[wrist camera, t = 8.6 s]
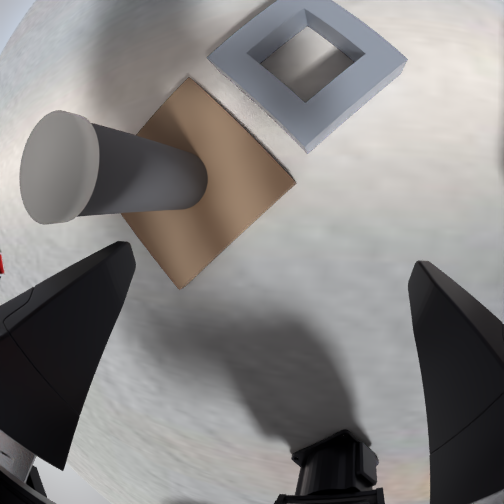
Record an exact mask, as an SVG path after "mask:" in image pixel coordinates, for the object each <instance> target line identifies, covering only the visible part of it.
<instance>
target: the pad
mask: <svg viewBox="0 0 504 504" xmlns="http://www.w3.org/2000/svg"><path fill="white" fill-rule="evenodd" d="M136 136H139V137H143V138H146V139H149V140H152V141H156V142H159V143H162V144H165V145H168V146H171V147H174V148H177V149H180V150H183V151H186V152H189V153H192V154H194V155H196V156H197V157H199V158H200V159H201V160H202V162H203V163H204V165H205V167H206V170H207V175H208V183H207V188H206V191H205V193H204V195H203V197H202V198H201V199H200V201H199V202H198V203H197V204H195V205H194V206H192V207H190V208H187V209H183V210H163V211H145V212H129V213H121V215H122V216H123V217H124V219H125V220H126V222H127V223H128V224H129V226H130V227H131V228H132V230H133V231H134V233H135V234H136V235H137V237H138V238H139V239H140V241H141V242H142V243H143V245H144V246H145V247H146V249H147V250H148V251H149V252H150V254H151V255H152V256H153V258H154V259H155V260H156V261H157V263H158V264H159V265H160V267H161V268H162V269H163V270H164V272H165V273H166V274H167V275H168V277H169V278H170V279H171V280H172V282H173V283H174V284H175V285H176V287H177V288H178V289H179V290H180V289H182V288H184V287H185V286H186V285H187V284H188V283H189V282H190V281H191V280H193V279H194V278H195V277H196V276H197V275H198V274H199V273H200V272H201V271H202V270H203V269H204V268H205V267H206V266H207V265H208V264H209V263H211V262H212V261H213V260H214V259H215V258H216V257H217V256H218V255H219V254H220V253H221V252H222V251H223V250H224V249H225V248H227V247H228V246H229V245H230V244H231V243H232V242H233V241H234V240H235V239H236V238H237V237H238V236H239V235H240V234H242V233H243V232H244V231H245V230H246V229H247V228H248V227H249V226H250V225H251V224H252V223H253V222H255V221H256V220H257V219H258V218H259V217H260V216H261V215H262V214H263V213H264V212H265V211H266V210H268V209H269V208H270V207H271V206H272V205H273V204H274V203H275V202H276V201H277V200H278V199H280V198H281V197H282V196H283V195H284V194H285V193H286V192H287V191H288V190H289V189H291V188H292V187H293V186H294V185H295V184H296V182H295V181H294V180H293V179H292V177H291V176H290V175H289V174H288V173H287V172H286V171H285V170H284V169H283V168H282V167H281V166H280V165H279V164H278V162H277V161H276V160H275V159H274V158H273V157H272V156H271V155H270V154H269V153H268V152H267V151H266V150H265V149H264V148H263V147H262V146H261V145H260V144H259V143H258V142H257V141H256V140H255V139H254V138H253V137H252V136H251V135H250V134H249V133H248V132H247V131H246V130H245V129H244V128H243V127H242V126H241V125H240V124H239V123H238V122H237V121H236V120H235V119H234V118H233V117H232V116H231V115H230V114H229V113H228V112H227V111H226V110H225V109H224V108H223V107H222V106H220V105H219V104H218V103H217V102H216V101H215V100H214V99H213V98H212V97H211V96H210V95H209V94H208V93H206V92H205V91H204V90H203V89H202V88H201V87H200V86H199V85H198V84H197V83H195V82H194V81H193V80H192V79H191V78H189V77H188V78H187V79H186V80H185V82H184V83H183V84H182V85H181V86H180V87H179V88H178V89H177V90H176V91H175V92H174V93H173V94H172V95H171V96H170V97H169V98H168V99H167V100H166V101H165V103H164V104H163V105H162V106H161V107H160V108H159V109H158V110H157V111H156V113H155V114H154V115H153V116H152V117H151V118H150V119H149V121H148V122H147V123H146V124H145V125H144V126H143V128H142V129H141V130H140V131H139V132H138V134H137V135H136Z"/></svg>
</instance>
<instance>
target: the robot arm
mask: <svg viewBox="0 0 504 504" xmlns="http://www.w3.org/2000/svg"><path fill="white" fill-rule="evenodd" d="M135 268H136V262H135V258H134V255H133V251H132V248H131V245H130V243H129V242H124V241H117V242H115V243H113V244H111V245H109V246H107V247H105V248H103V249H101V250H99V251H98V252H96V253H94V254H92V255H90V256H88V257H86V258H84V259H82V260H80V261H79V262H77V263H75V264H73V265H71V266H69V267H68V268H66V269H64V270H62V271H60V272H59V273H57V274H55V275H53V276H51V277H50V278H48V279H46V280H44V281H43V282H41V283H39V284H37V285H36V286H35V287H32V288H30V289H29V290H27V291H25V292H24V293H22V294H20V295H18V296H17V297H15V298H13V299H11V300H10V301H8V302H6V303H4V304H2V305H1V306H0V504H56V503H54V502H53V501H51V500H49V499H48V498H47V496H46V493H45V490H44V488H43V485H42V482H41V479H40V476H39V473H38V470H37V468H36V467H34V466H33V463H34V461H35V458H36V456H38V457H39V458H41V459H43V460H44V461H46V462H48V463H49V464H51V465H53V466H55V467H56V468H58V469H60V470H62V471H63V470H64V467H65V464H66V460H67V457H68V453H69V450H70V446H71V443H72V440H73V436H74V433H75V430H76V427H77V424H78V420H79V417H80V416H79V415H80V414H81V411H82V408H83V405H84V402H85V399H86V396H87V394H88V391H89V388H90V385H91V382H92V380H93V377H94V374H95V372H96V369H97V367H98V364H99V361H100V359H101V356H102V354H103V351H104V349H105V346H106V344H107V342H108V339H109V337H110V334H111V332H112V330H113V327H114V325H115V323H116V320H117V318H118V316H119V314H120V311H121V309H122V306H123V304H124V301H125V298H126V295H127V292H128V289H129V286H130V283H131V280H132V277H133V274H134V272H135ZM408 292H409V299H410V307H411V316H412V324H413V331H414V337H415V342H416V347H417V352H418V358H419V363H420V369H421V375H422V382H423V389H424V396H425V404H426V413H427V423H428V435H429V450H430V504H472V503H473V504H504V324H502V322H501V321H500V320H499V319H498V318H497V317H496V316H495V315H494V314H492V313H491V312H490V311H489V310H488V309H487V308H486V307H485V306H483V305H482V304H481V303H480V302H479V301H478V300H476V299H475V298H474V297H473V296H472V295H471V294H469V293H468V292H467V291H466V290H465V289H463V288H462V287H461V286H460V285H458V284H457V283H456V282H455V281H454V280H452V279H451V278H450V277H449V276H447V275H446V274H445V273H443V272H442V271H441V270H440V269H438V268H437V267H436V266H435V265H433V264H432V263H431V262H429V261H420V260H418V261H417V262H416V263H415V265H414V268H413V271H412V273H411V276H410V279H409V282H408ZM343 435H345V436H343ZM297 457H298V458H297ZM291 459H292V460H293V461H294V462H295V463H296V464H298V465H299V466H300V467H301V469H300V474H299V478H298V483H297V488H296V492H295V495H286V494H279V496H278V498H277V500H276V501H275V503H274V504H385V502H384V494H383V488H376V490H372V486H374V485H376V483H377V474H376V466H377V465H378V464H379V460H378V459H377V458H376V457H375V453H374V452H373V451H372V450H370V449H369V448H368V447H367V446H366V445H365V444H364V443H363V442H361V441H359V440H358V439H357V438H356V437H355V436H354V435H353V434H351V433H350V432H349V431H348V430H343V431H340V432H338V433H336V434H335V435H333V436H331V437H328V438H326V439H324V440H322V441H320V442H318V443H316V444H314V445H312V446H309V447H307V448H305V449H303V450H300V451H298V452H296V453H294V454H292V458H291Z"/></svg>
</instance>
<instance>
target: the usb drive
mask: <svg viewBox="0 0 504 504" xmlns="http://www.w3.org/2000/svg"><path fill="white" fill-rule="evenodd" d="M2 275H5V270H4V265H3V259H2V252H1V253H0V278H1V276H2Z"/></svg>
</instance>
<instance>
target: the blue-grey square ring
mask: <svg viewBox="0 0 504 504" xmlns="http://www.w3.org/2000/svg"><path fill="white" fill-rule="evenodd" d="M307 26H309V27H310V28H312V29H313V30H314V31H316V32H317V33H318V34H320V35H321V36H323V37H324V38H325V39H327V40H328V41H329V42H330V43H332V44H333V45H334V46H336V47H337V48H338V49H339V50H341V51H342V52H343V53H344V54H346V55H347V56H348V57H349V58H350V59H352V60H353V61H354V62H355V63H353V64H352V65H351V66H349V67H348V68H347V69H346V70H344V71H343V72H342V73H341V74H340V75H338V76H337V77H336V78H335V79H333V80H332V81H331V82H330V83H329V84H327V85H326V86H325V87H324V88H323V89H321V90H320V91H319V92H318V93H317V94H316V95H314V96H313V97H312V98H311V99H310V100H308V101H307V102H306V103H305V102H304V101H303V100H302V99H300V98H299V97H298V96H297V95H296V94H295V93H294V92H293V91H292V90H290V89H289V88H288V87H287V86H286V85H285V84H283V83H282V82H281V81H280V80H279V79H278V78H276V77H275V76H274V75H273V74H272V73H270V72H269V71H268V70H267V69H266V68H264V67H263V66H262V65H261V64H260V63H261V62H262V61H264V60H265V59H266V58H267V57H268V56H270V55H271V54H272V53H273V52H274V51H276V50H277V49H278V48H279V47H281V46H282V45H283V44H284V43H286V42H287V41H288V40H289V39H291V38H292V37H293V36H295V35H296V34H297V33H299V32H300V31H301V30H303V29H304V28H305V27H307ZM207 59H208V60H209V61H210V62H211V63H212V64H213V65H214V66H215V67H216V68H217V69H218V70H219V71H220V72H221V73H222V74H223V75H225V76H226V77H227V78H228V79H229V80H230V81H232V82H233V83H234V84H235V85H236V86H237V87H238V88H240V89H241V90H242V91H243V92H244V93H245V94H246V95H247V96H249V97H250V98H251V99H252V100H253V101H254V102H255V103H256V104H257V105H258V106H259V107H261V108H262V109H263V110H264V111H265V112H266V113H267V114H268V115H269V116H270V117H271V118H272V119H273V120H274V121H275V122H276V123H277V124H278V125H279V126H280V127H281V128H283V129H284V130H285V131H286V132H287V133H288V134H289V135H290V136H291V137H292V138H293V139H294V140H295V141H296V142H297V143H298V145H299V146H300V147H301V148H302V149H303V150H304V151H305V152H306V153H307V154H308V153H309V152H311V151H312V150H313V149H314V148H315V147H316V146H317V145H318V144H319V143H321V142H322V141H323V140H324V139H325V138H326V137H327V136H329V135H330V134H331V133H332V132H333V131H334V130H335V129H336V128H338V127H339V126H340V125H341V124H342V123H343V122H344V121H346V120H347V119H348V118H349V117H350V116H351V115H353V114H354V113H355V112H356V111H357V110H358V109H360V108H361V107H362V106H363V105H364V104H365V103H367V102H368V101H369V100H370V99H371V98H372V97H374V96H375V95H376V94H377V93H378V92H379V91H381V90H382V89H383V88H384V87H385V86H387V85H388V84H389V83H390V82H391V81H393V80H394V79H395V78H396V77H397V76H399V75H400V74H401V72H402V70H403V68H404V66H405V64H406V62H407V60H408V59H407V58H406V57H405V56H404V55H403V54H401V53H400V52H399V51H398V50H397V49H396V48H395V47H393V46H392V45H391V44H390V43H389V42H388V41H386V40H385V39H384V38H383V37H382V36H380V35H379V34H378V33H377V32H375V31H374V30H373V29H371V28H370V27H369V26H368V25H366V24H365V23H364V22H362V21H361V20H359V19H358V18H357V17H355V16H354V15H353V14H351V13H350V12H348V11H347V10H345V9H344V8H342V7H341V6H339V5H338V4H336V3H335V2H333V1H332V0H277V1H276V2H274V3H273V4H271V5H270V6H269V7H267V8H266V9H265V10H263V11H262V12H261V13H259V14H258V15H257V16H255V17H254V18H253V19H251V20H250V21H249V22H248V23H246V24H245V25H244V26H243V27H241V28H240V29H239V30H238V31H237V32H235V33H234V34H233V35H232V36H231V37H229V38H228V39H227V40H226V41H225V42H224V43H222V44H221V45H220V46H219V47H218V48H217V49H216V50H214V51H213V52H212V53H211V54H210V55H209V56H208V57H207Z"/></svg>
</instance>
